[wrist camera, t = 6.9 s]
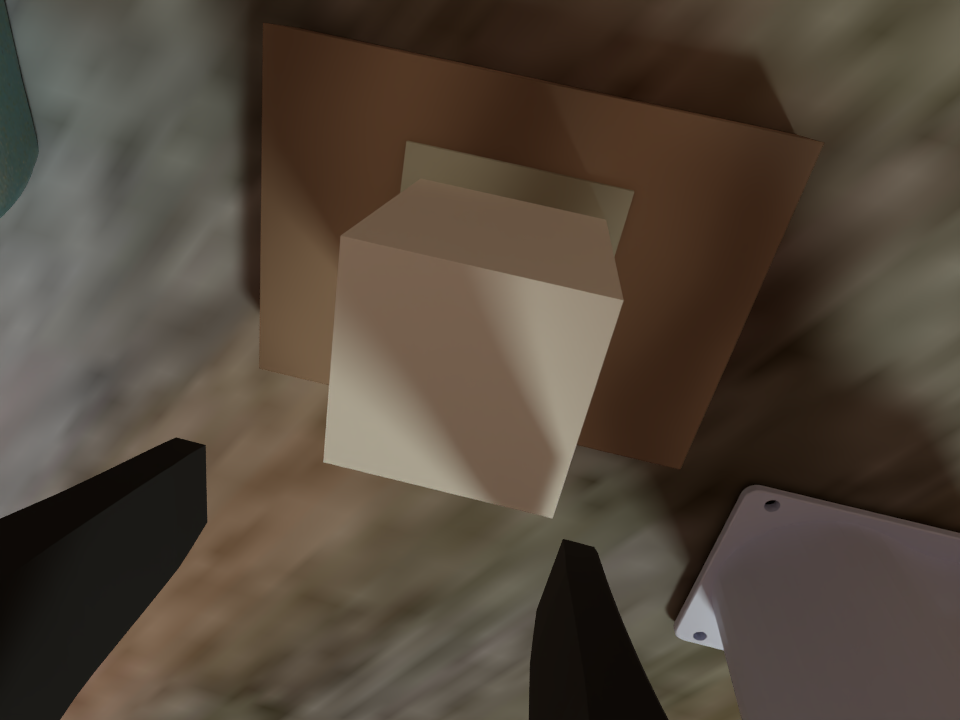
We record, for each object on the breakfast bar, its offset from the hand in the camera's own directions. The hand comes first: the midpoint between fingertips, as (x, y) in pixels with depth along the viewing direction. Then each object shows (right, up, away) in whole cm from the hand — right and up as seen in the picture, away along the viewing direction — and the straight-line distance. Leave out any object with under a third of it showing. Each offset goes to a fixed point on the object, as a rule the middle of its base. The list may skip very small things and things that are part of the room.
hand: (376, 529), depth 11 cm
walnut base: (+3, +7, +7) cm, 10 cm away
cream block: (+2, +5, +5) cm, 8 cm away
